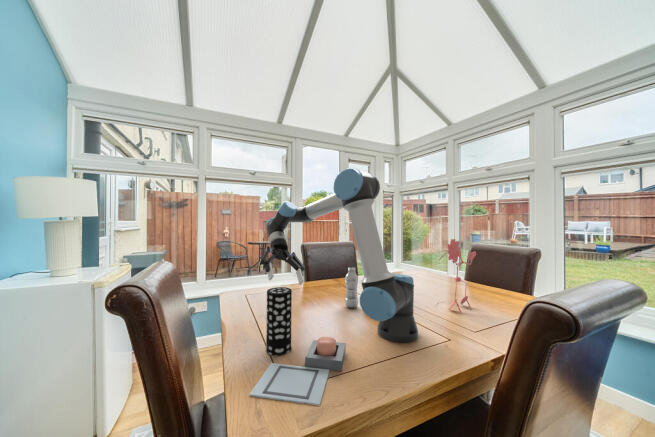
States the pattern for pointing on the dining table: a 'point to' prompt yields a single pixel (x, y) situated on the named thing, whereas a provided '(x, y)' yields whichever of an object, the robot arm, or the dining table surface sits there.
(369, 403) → the dining table surface
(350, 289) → the plastic bottle
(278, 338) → the white-spotted black cylinder
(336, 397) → the dining table surface
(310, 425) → the dining table surface
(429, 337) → the dining table surface
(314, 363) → the button housing
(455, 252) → the figurine
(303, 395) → the drawing pad
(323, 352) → the button
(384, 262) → the robot arm
